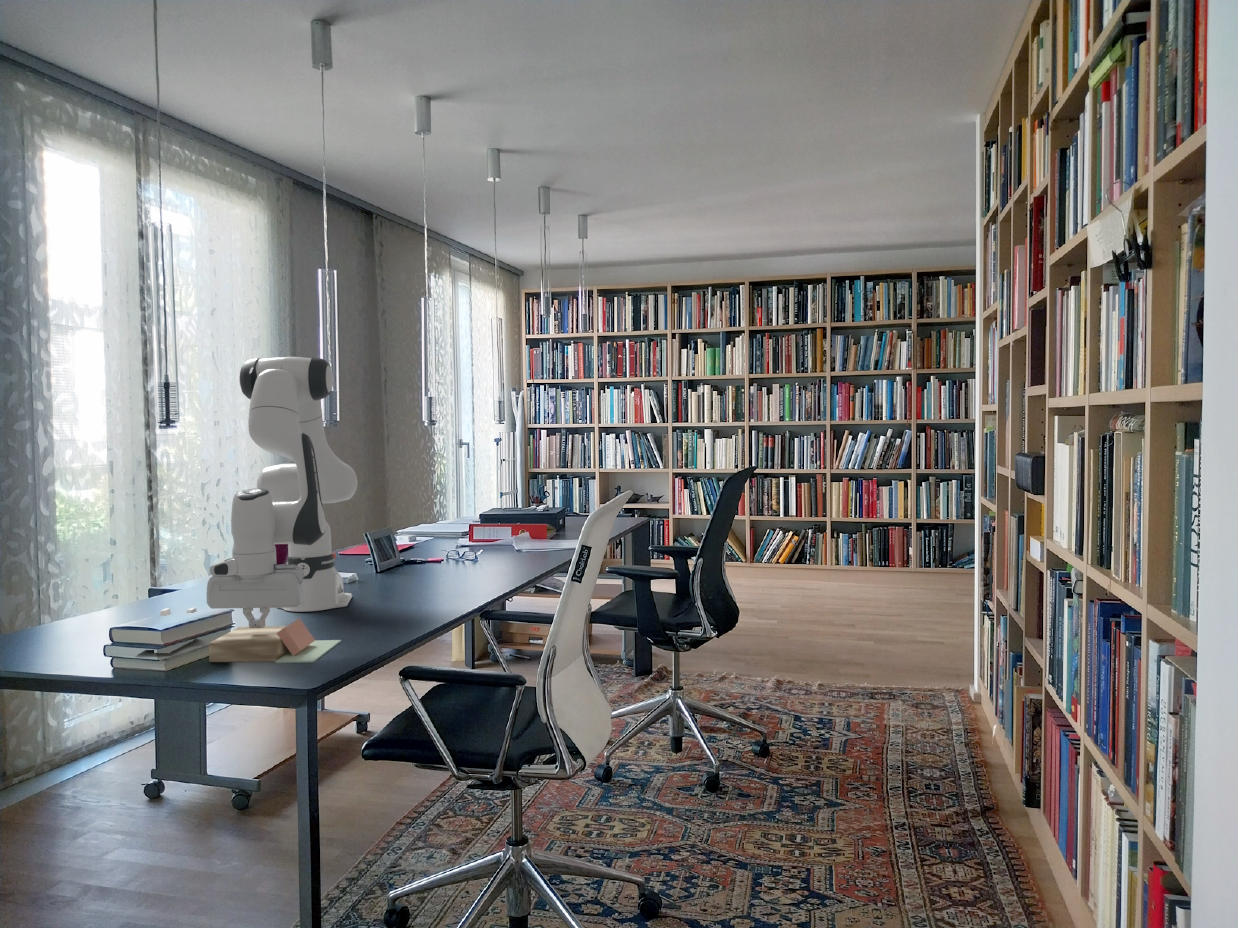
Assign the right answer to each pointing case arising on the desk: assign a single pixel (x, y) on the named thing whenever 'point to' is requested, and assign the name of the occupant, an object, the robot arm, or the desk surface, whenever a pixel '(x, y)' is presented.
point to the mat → (309, 652)
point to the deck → (248, 645)
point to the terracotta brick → (296, 637)
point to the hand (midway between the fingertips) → (257, 627)
